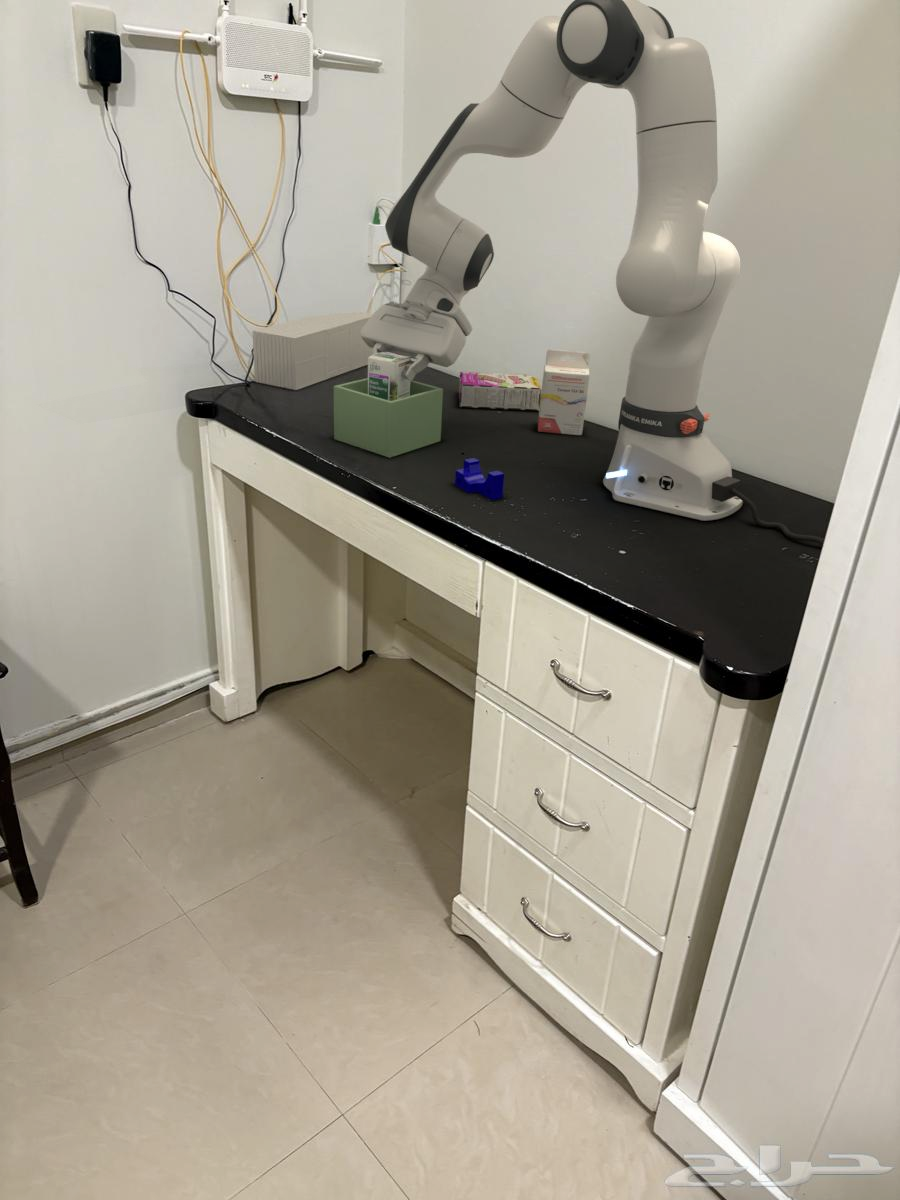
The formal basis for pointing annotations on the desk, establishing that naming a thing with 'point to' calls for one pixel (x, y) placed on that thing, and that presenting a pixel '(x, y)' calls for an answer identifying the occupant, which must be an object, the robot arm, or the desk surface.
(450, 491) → the desk surface
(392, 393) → the syrup box
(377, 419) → the waste bin
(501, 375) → the candy bar box
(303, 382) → the stack of papers
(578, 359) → the ink cartridge box
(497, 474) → the cable holder
